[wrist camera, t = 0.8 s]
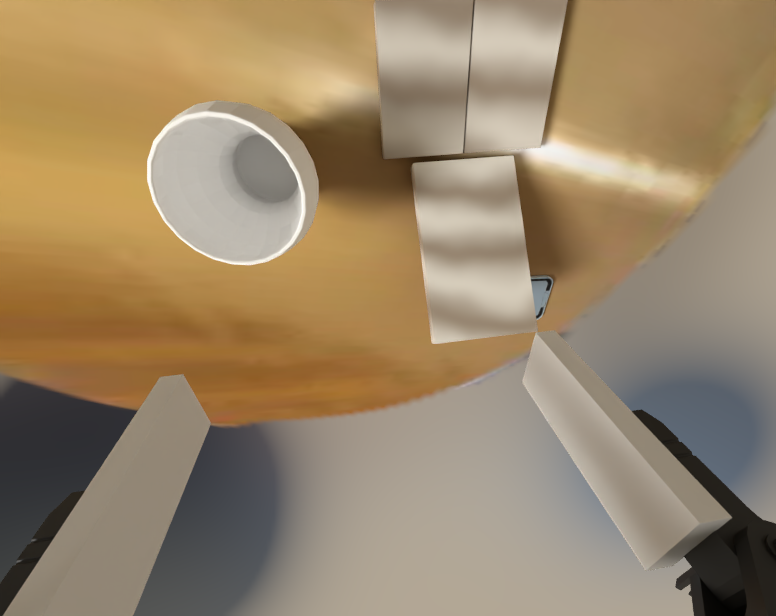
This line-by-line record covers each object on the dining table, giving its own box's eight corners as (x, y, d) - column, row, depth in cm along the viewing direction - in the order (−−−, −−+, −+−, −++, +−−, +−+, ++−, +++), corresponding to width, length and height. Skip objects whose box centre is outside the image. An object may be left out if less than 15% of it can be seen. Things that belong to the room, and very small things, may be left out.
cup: (341, 141, 32) (340, 159, 20) (304, 231, 37) (284, 293, 24) (234, 80, 29) (149, 53, 16) (207, 188, 33) (124, 234, 20)
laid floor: (373, 6, 27) (375, 0, 26) (558, -1, 28) (569, -7, 27) (382, 157, 34) (384, 159, 32) (532, 146, 35) (540, 147, 34)
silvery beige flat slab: (410, 168, 34) (412, 161, 33) (506, 161, 35) (513, 153, 33) (431, 343, 33) (435, 343, 32) (529, 330, 34) (537, 331, 33)
